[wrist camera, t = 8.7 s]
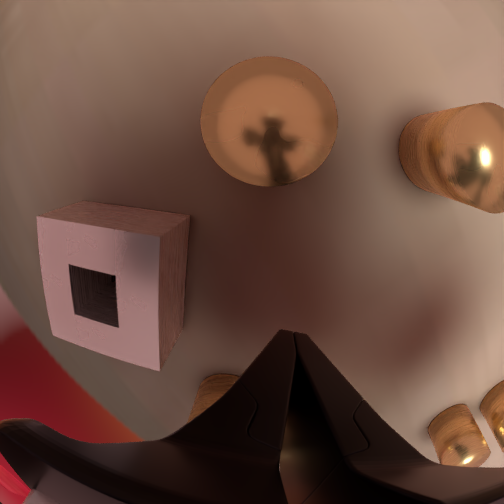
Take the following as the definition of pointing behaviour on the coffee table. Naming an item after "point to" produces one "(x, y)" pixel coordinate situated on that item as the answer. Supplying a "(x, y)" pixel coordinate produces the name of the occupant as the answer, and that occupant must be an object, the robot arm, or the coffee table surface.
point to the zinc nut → (127, 278)
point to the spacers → (313, 155)
